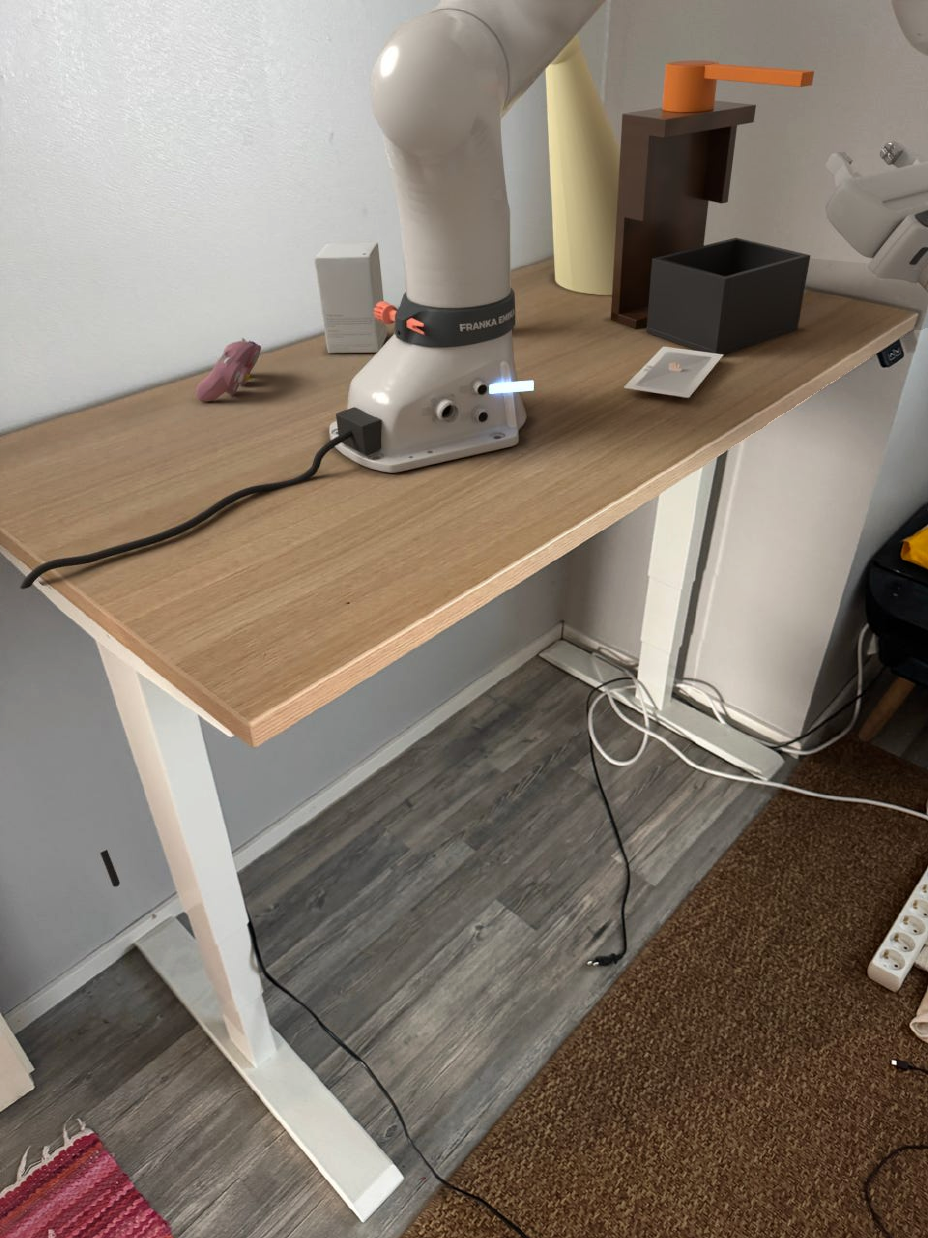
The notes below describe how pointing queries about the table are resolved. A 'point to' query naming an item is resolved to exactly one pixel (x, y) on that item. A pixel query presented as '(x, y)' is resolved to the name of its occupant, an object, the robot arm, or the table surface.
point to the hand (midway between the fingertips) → (860, 151)
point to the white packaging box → (350, 297)
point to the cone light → (581, 175)
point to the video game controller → (229, 370)
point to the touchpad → (674, 372)
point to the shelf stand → (667, 192)
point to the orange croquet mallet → (697, 79)
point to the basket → (726, 295)
